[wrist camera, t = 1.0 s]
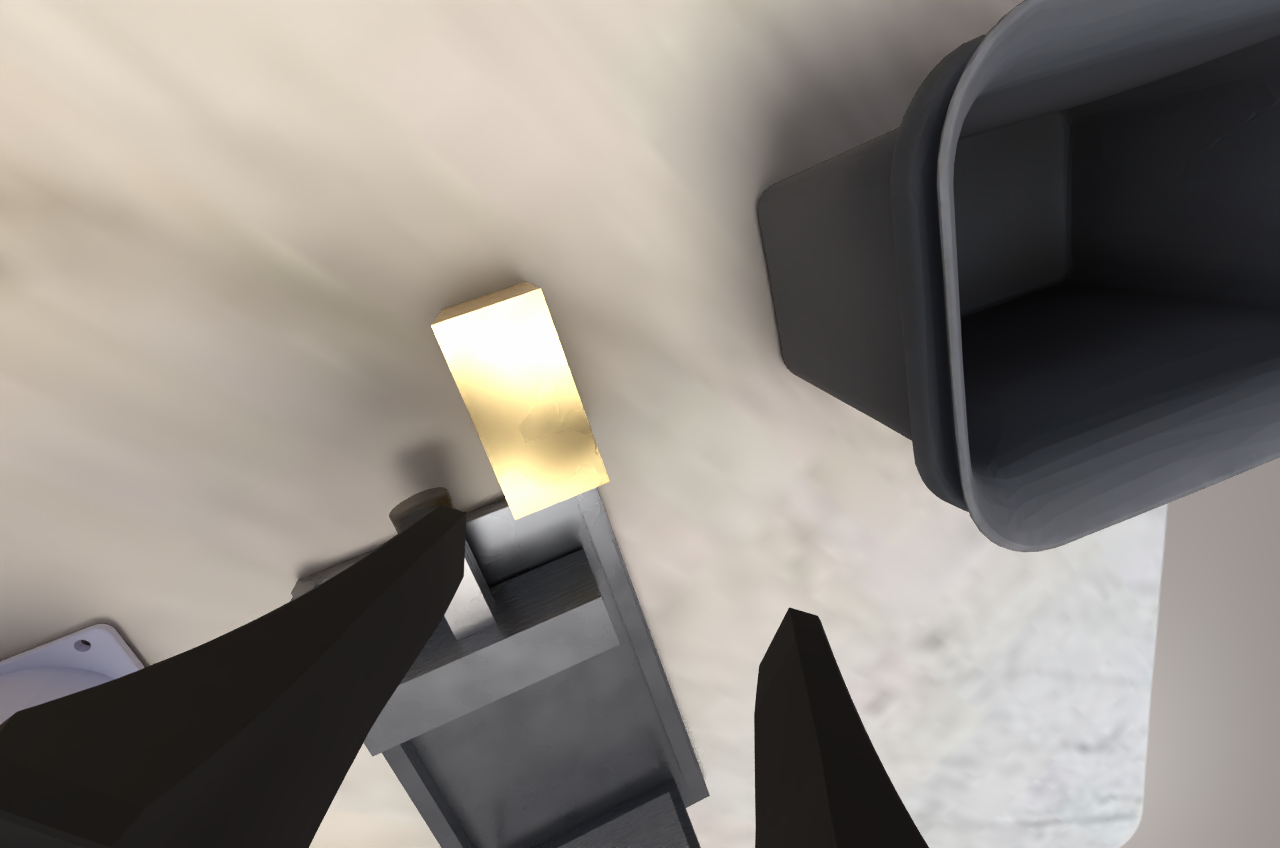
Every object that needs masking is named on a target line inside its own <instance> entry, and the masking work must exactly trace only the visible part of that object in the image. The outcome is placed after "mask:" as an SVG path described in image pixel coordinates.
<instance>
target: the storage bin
mask: <svg viewBox="0 0 1280 848" xmlns="http://www.w3.org/2000/svg"><path fill="white" fill-rule="evenodd" d="M758 217H759V222H760V228H761V233H762V238H763V244H764V249H765V255H766V260H767V266H768V271H769V277H770V282H771V288H772V293H773V299H774V305H775V311H776V317H777V323H778V329H779V336H780V342H781V348H782V353H783V358H784V363H785V365H786V367H787V368H788V369H789V370H790V371H791V372H792V373H793V374H795V375H796V376H798V377H800V378H802V379H804V380H805V381H807V382H809V383H811V384H813V385H814V386H816V387H818V388H820V389H821V390H823V391H825V392H827V393H829V394H830V395H832V396H834V397H836V398H837V399H839V400H841V401H843V402H844V403H846V404H848V405H850V406H852V407H854V408H855V409H857V410H859V411H861V412H863V413H864V414H866V415H868V416H870V417H872V418H873V419H875V420H877V421H879V422H881V423H882V424H884V425H886V426H887V427H889V428H891V429H893V430H894V431H896V432H898V433H900V434H901V435H903V436H905V437H907V438H908V439H910V440H912V442H913V451H914V458H915V464H916V467H917V469H918V472H919V474H920V476H921V478H922V480H923V482H924V483H925V485H926V486H927V488H928V489H929V490H930V491H931V492H933V493H934V494H935V495H936V496H937V497H939V498H940V499H942V500H944V501H946V502H948V503H950V504H952V505H954V506H956V507H958V508H960V509H962V510H965V511H967V512H969V513H970V516H971V518H972V519H973V521H974V523H975V524H976V526H977V527H978V529H979V530H980V532H982V533H983V534H984V535H985V536H986V537H987V538H988V539H989V540H990V541H992V542H993V543H995V544H997V545H998V546H1001V547H1004V548H1006V549H1009V550H1012V551H1020V552H1038V551H1043V550H1048V549H1052V548H1056V547H1059V546H1062V545H1065V544H1067V543H1070V542H1072V541H1075V540H1077V539H1079V538H1082V537H1084V536H1087V535H1089V534H1092V533H1094V532H1097V531H1099V530H1102V529H1104V528H1107V527H1110V526H1112V525H1115V524H1117V523H1120V522H1122V521H1125V520H1127V519H1130V518H1132V517H1135V516H1137V515H1140V514H1142V513H1145V512H1147V511H1149V510H1152V509H1154V508H1157V507H1159V506H1162V505H1164V504H1167V503H1169V502H1172V501H1174V500H1177V499H1179V498H1181V497H1184V496H1187V495H1189V494H1191V493H1194V492H1196V491H1199V490H1201V489H1204V488H1206V487H1209V486H1211V485H1214V484H1216V483H1218V482H1221V481H1223V480H1226V479H1228V478H1230V477H1233V476H1235V475H1238V474H1240V473H1242V472H1245V471H1247V470H1250V469H1252V468H1255V467H1257V466H1260V465H1262V464H1264V463H1267V462H1269V461H1272V460H1274V459H1276V458H1279V457H1280V0H1025V1H1023V2H1022V3H1020V4H1019V5H1018V6H1016V7H1015V8H1014V9H1013V10H1011V11H1010V12H1009V13H1007V14H1006V15H1005V16H1004V17H1002V18H1001V19H1000V20H999V22H998V23H997V24H996V25H995V26H994V27H993V28H992V29H991V30H990V31H989V32H988V33H987V34H986V35H982V36H980V37H978V38H975V39H973V40H971V41H969V42H966V43H964V44H962V45H961V46H960V47H958V48H957V49H955V50H954V51H953V52H951V53H950V54H949V55H947V56H946V57H945V58H944V59H943V60H942V61H941V62H940V63H939V64H938V65H937V66H936V67H935V68H934V69H933V70H932V71H931V72H930V74H929V75H928V76H927V78H926V79H925V80H924V82H923V83H922V85H921V86H920V88H919V89H918V91H917V93H916V94H915V96H914V98H913V99H912V101H911V103H910V105H909V107H908V109H907V111H906V113H905V116H904V118H903V121H902V123H901V126H900V127H899V128H897V129H895V130H892V131H890V132H888V133H886V134H884V135H882V136H879V137H877V138H875V139H873V140H871V141H868V142H866V143H864V144H862V145H860V146H857V147H855V148H853V149H851V150H849V151H846V152H844V153H842V154H840V155H838V156H835V157H833V158H831V159H829V160H827V161H824V162H822V163H820V164H818V165H816V166H813V167H811V168H809V169H807V170H805V171H802V172H800V173H798V174H796V175H794V176H791V177H789V178H787V179H785V180H782V181H780V182H778V183H776V184H774V185H772V186H770V187H769V188H768V189H767V190H766V191H764V193H763V194H762V196H761V198H760V201H759V204H758Z"/></svg>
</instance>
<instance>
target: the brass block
mask: <svg viewBox="0 0 1280 848" xmlns="http://www.w3.org/2000/svg"><path fill="white" fill-rule="evenodd" d="M431 327H432V329H433V331H434V334H435V336H436V338H437V341H438V343H439V345H440V347H441V350H442V352H443V354H444V357H445V359H446V361H447V364H448V366H449V368H450V371H451V373H452V375H453V377H454V380H455V382H456V384H457V387H458V389H459V391H460V394H461V396H462V398H463V401H464V403H465V405H466V407H467V410H468V412H469V414H470V417H471V419H472V421H473V424H474V426H475V428H476V431H477V433H478V435H479V438H480V440H481V442H482V444H483V447H484V449H485V451H486V454H487V456H488V458H489V461H490V463H491V465H492V468H493V470H494V472H495V474H496V477H497V479H498V481H499V484H500V486H501V488H502V491H503V493H504V495H505V498H506V500H507V502H508V505H509V507H510V509H511V511H512V514H513V516H514V518H515V520H516V519H519V518H521V517H524V516H526V515H529V514H531V513H534V512H536V511H538V510H541V509H543V508H546V507H548V506H551V505H553V504H556V503H558V502H561V501H563V500H566V499H568V498H571V497H573V496H576V495H578V494H581V493H583V492H586V491H588V490H591V489H593V488H596V487H598V486H601V485H603V484H606V483H608V482H610V481H609V478H608V475H607V473H606V470H605V467H604V464H603V461H602V459H601V456H600V453H599V450H598V447H597V445H596V442H595V439H594V436H593V433H592V431H591V428H590V425H589V422H588V419H587V417H586V414H585V411H584V408H583V405H582V402H581V400H580V397H579V394H578V391H577V388H576V386H575V383H574V380H573V377H572V374H571V372H570V369H569V366H568V363H567V360H566V358H565V355H564V352H563V349H562V346H561V344H560V341H559V338H558V335H557V332H556V330H555V327H554V324H553V321H552V318H551V316H550V313H549V310H548V307H547V304H546V302H545V299H544V296H543V293H542V290H541V288H539V287H536V286H534V285H532V284H530V283H528V282H523V283H520V284H517V285H514V286H511V287H508V288H505V289H502V290H499V291H496V292H493V293H490V294H487V295H484V296H481V297H478V298H475V299H472V300H469V301H466V302H463V303H460V304H457V305H454V306H451V307H448V308H445V309H442V310H441V312H440V313H439V315H438V316H437V318H436V319H435V321H434V322H433V323H432V325H431Z"/></svg>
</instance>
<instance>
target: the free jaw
mask: <svg viewBox="0 0 1280 848" xmlns="http://www.w3.org/2000/svg"><path fill="white" fill-rule="evenodd" d="M439 505H442V506H446V507H449V508H453V509H456V508H455V506H454V503H453V501H452V499H451V497H450V495H449V493H448V491H447V489H446V488H442V487H439V488H432V489H428V490H425V491H422V492H420V493H417V494H415V495H413V496H411V497H409V498H407V499H406V500H404V501H402V502H401V503H400V504H398V505H397V506H396V507H395V508H394V509H393V510H392V511H391V512H390V514H389V517H390V519H391V521H392V523H393V525H394V527H395V529H396V531H397V533H398V534H399V533H400V532H402V531H403V530H405V529H406V528H407V527H409V526H410V525H412V524H413V523H414V522H416V521H417V520H419V519H420V518H421V517H423V516H424V515H426V514H427V513H428V512H430V511H431V510H433V509H434V508H435V507H437V506H439ZM617 645H620V643H619V640H618V637H617V634H616V632H615V629H614V626H613V624H612V621H611V618H610V616H609V613H608V610H607V608H606V605H605V602H604V600H603V597H602V594H601V592H600V589H599V587H598V584H597V582H596V579H595V576H594V574H593V571H592V569H591V566H590V564H589V561H588V559H587V556H586V554H585V551H584V549H581V550H579V551H577V552H574V553H572V554H570V555H567V556H565V557H562V558H560V559H558V560H555V561H553V562H550V563H548V564H546V565H543V566H541V567H539V568H536V569H534V570H531V571H529V572H527V573H524V574H522V575H520V576H517V577H515V578H512V579H510V580H508V581H505V582H503V583H500V584H498V585H496V586H493V587H491V588H489V587H488V585H487V583H486V581H485V579H484V577H483V575H482V573H481V570H480V568H479V566H478V564H477V562H476V560H475V558H474V556H473V554H472V551H471V549H470V547H469V545H468V543H467V541H466V539H465V561H464V577H463V579H462V581H461V583H460V585H459V587H458V589H457V591H456V593H455V595H454V597H453V599H452V601H451V603H450V605H449V607H448V609H447V611H446V613H445V615H444V617H443V619H442V620H441V622H440V623H439V625H438V626H437V628H436V630H435V631H434V633H433V634H432V636H431V637H430V639H429V640H428V642H427V643H426V645H425V646H424V648H423V649H422V651H421V652H420V654H419V655H418V657H417V659H416V660H415V662H414V663H413V665H412V666H411V668H410V669H409V671H408V672H407V674H406V675H405V677H404V678H403V680H402V681H401V683H400V684H399V686H398V687H397V689H396V690H395V692H394V693H393V695H392V696H391V698H390V699H389V701H388V702H387V704H386V705H385V707H384V708H383V710H382V712H381V713H380V715H379V716H378V718H377V720H376V721H375V723H374V725H373V726H372V728H371V730H370V731H369V733H368V735H367V737H366V739H365V741H364V744H365V745H366V747H367V749H368V750H369V752H370V753H371V755H372V756H375V755H377V754H379V753H381V752H383V751H386V750H388V749H390V748H392V747H395V746H397V745H399V744H401V743H403V742H406V741H408V740H410V739H412V738H414V737H417V736H419V735H421V734H423V733H425V732H428V731H430V730H432V729H434V728H436V727H439V726H441V725H443V724H445V723H447V722H450V721H452V720H454V719H456V718H459V717H461V716H463V715H465V714H467V713H470V712H472V711H474V710H476V709H478V708H481V707H483V706H485V705H487V704H489V703H492V702H494V701H496V700H498V699H500V698H503V697H505V696H507V695H509V694H512V693H514V692H516V691H518V690H520V689H523V688H525V687H527V686H529V685H531V684H534V683H536V682H538V681H540V680H542V679H545V678H547V677H549V676H551V675H553V674H556V673H558V672H560V671H562V670H564V669H567V668H569V667H571V666H573V665H576V664H578V663H580V662H582V661H584V660H587V659H589V658H591V657H593V656H595V655H598V654H600V653H602V652H604V651H606V650H609V649H611V648H613V647H615V646H617Z"/></svg>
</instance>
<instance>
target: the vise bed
mask: <svg viewBox="0 0 1280 848" xmlns="http://www.w3.org/2000/svg"><path fill="white" fill-rule="evenodd" d="M465 539H466V541H467V543H468V545H469V547H470V549H471V551H472V554H473V556H474V558H475V560H476V562H477V564H478V566H479V568H480V570H481V573H482V575H483V577H484V579H485V581H486V583H487V585H488V587H489V588H491V587H493V586H496V585H498V584H500V583H503V582H505V581H508V580H510V579H512V578H515V577H517V576H520V575H522V574H524V573H527V572H529V571H531V570H534V569H536V568H539V567H541V566H543V565H546V564H548V563H550V562H553V561H555V560H558V559H560V558H562V557H565V556H567V555H570V554H572V553H574V552H577V551H579V550H581V549H584V551H585V554H586V556H587V559H588V561H589V564H590V566H591V569H592V571H593V574H594V576H595V579H596V582H597V584H598V587H599V589H600V592H601V594H602V597H603V600H604V602H605V605H606V608H607V610H608V613H609V616H610V618H611V621H612V624H613V626H614V629H615V632H616V634H617V637H618V640H619V643H620V645H617V646H615V647H613V648H611V649H609V650H606V651H604V652H602V653H600V654H598V655H595V656H593V657H591V658H589V659H587V660H584V661H582V662H580V663H578V664H576V665H573V666H571V667H569V668H567V669H564V670H562V671H560V672H558V673H556V674H553V675H551V676H549V677H547V678H545V679H542V680H540V681H538V682H536V683H534V684H531V685H529V686H527V687H525V688H523V689H520V690H518V691H516V692H514V693H512V694H509V695H507V696H505V697H503V698H500V699H498V700H496V701H494V702H492V703H489V704H487V705H485V706H483V707H481V708H478V709H476V710H474V711H472V712H470V713H467V714H465V715H463V716H461V717H459V718H456V719H454V720H452V721H450V722H447V723H445V724H443V725H441V726H439V727H436V728H434V729H432V730H430V731H428V732H425V733H423V734H421V735H419V736H417V737H414V738H412V739H410V740H408V741H406V742H403V743H401V744H399V745H397V746H395V747H392V748H390V749H388V750H386V751H383V752H382V754H383V755H384V757H385V759H386V760H387V762H388V763H389V765H390V767H391V768H392V770H393V771H394V773H395V774H396V776H397V778H398V779H399V781H400V782H401V784H402V786H403V787H404V789H405V790H406V792H407V793H408V795H409V797H410V798H411V800H412V801H413V803H414V805H415V806H416V808H417V809H418V811H419V812H420V814H421V816H422V817H423V819H424V820H425V822H426V824H427V825H428V827H429V828H430V830H431V832H432V833H433V835H434V836H435V838H436V839H437V841H438V843H439V844H440V846H441V847H442V848H701V847H700V844H699V842H698V839H697V836H696V834H695V831H694V829H693V826H692V823H691V821H690V818H689V816H688V813H687V810H686V808H687V807H689V806H691V805H692V804H694V803H696V802H698V801H700V800H702V799H704V798H706V797H708V796H710V795H709V792H708V790H707V787H706V784H705V781H704V779H703V776H702V773H701V770H700V768H699V765H698V762H697V760H696V757H695V754H694V751H693V749H692V746H691V743H690V741H689V738H688V735H687V732H686V730H685V727H684V724H683V722H682V719H681V716H680V713H679V711H678V708H677V705H676V703H675V700H674V697H673V694H672V692H671V689H670V686H669V684H668V681H667V678H666V675H665V673H664V670H663V667H662V664H661V662H660V659H659V656H658V654H657V651H656V648H655V645H654V643H653V640H652V637H651V635H650V632H649V629H648V626H647V624H646V621H645V618H644V616H643V613H642V610H641V607H640V605H639V602H638V599H637V597H636V594H635V591H634V588H633V586H632V583H631V580H630V578H629V575H628V572H627V569H626V567H625V564H624V561H623V559H622V556H621V553H620V550H619V548H618V545H617V542H616V539H615V537H614V534H613V531H612V529H611V526H610V523H609V520H608V518H607V515H606V512H605V510H604V507H603V504H602V501H601V499H600V496H599V493H598V491H597V488H593V489H591V490H588V491H586V492H583V493H581V494H578V495H576V496H573V497H571V498H568V499H566V500H563V501H561V502H558V503H556V504H553V505H551V506H548V507H546V508H543V509H541V510H538V511H536V512H534V513H531V514H529V515H526V516H524V517H521V518H519V519H516V520H515V518H514V516H513V514H512V511H511V509H510V507H509V505H508V502H507V500H506V498H504V499H502V500H499V501H497V502H494V503H492V504H489V505H487V506H484V507H482V508H479V509H477V510H474V511H472V512H469V513H467V514H466V537H465ZM373 551H374V550H373ZM371 552H372V551H371ZM371 552H368V553H365V554H363V555H360V556H358V557H355V558H353V559H350V560H348V561H345V562H343V563H340V564H338V565H335V566H333V567H330V568H328V569H325V570H323V571H320V572H317V573H315V574H312V575H310V576H307V577H305V578H302V579H300V580H298V581H297V583H296V585H295V586H294V588H293V590H292V592H291V594H292V596H293V597H292V599H291V601H292V600H294V599H296V598H298V597H299V596H301V595H303V594H305V593H306V592H308V591H310V590H312V589H313V588H315V587H317V586H318V585H320V584H322V583H323V582H325V581H327V580H328V579H330V578H332V577H333V576H335V575H337V574H338V573H340V572H342V571H343V570H345V569H346V568H348V567H350V566H351V565H353V564H354V563H356V562H357V561H359V560H360V559H362V558H363V557H365V556H366V555H368V554H369V553H371Z"/></svg>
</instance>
